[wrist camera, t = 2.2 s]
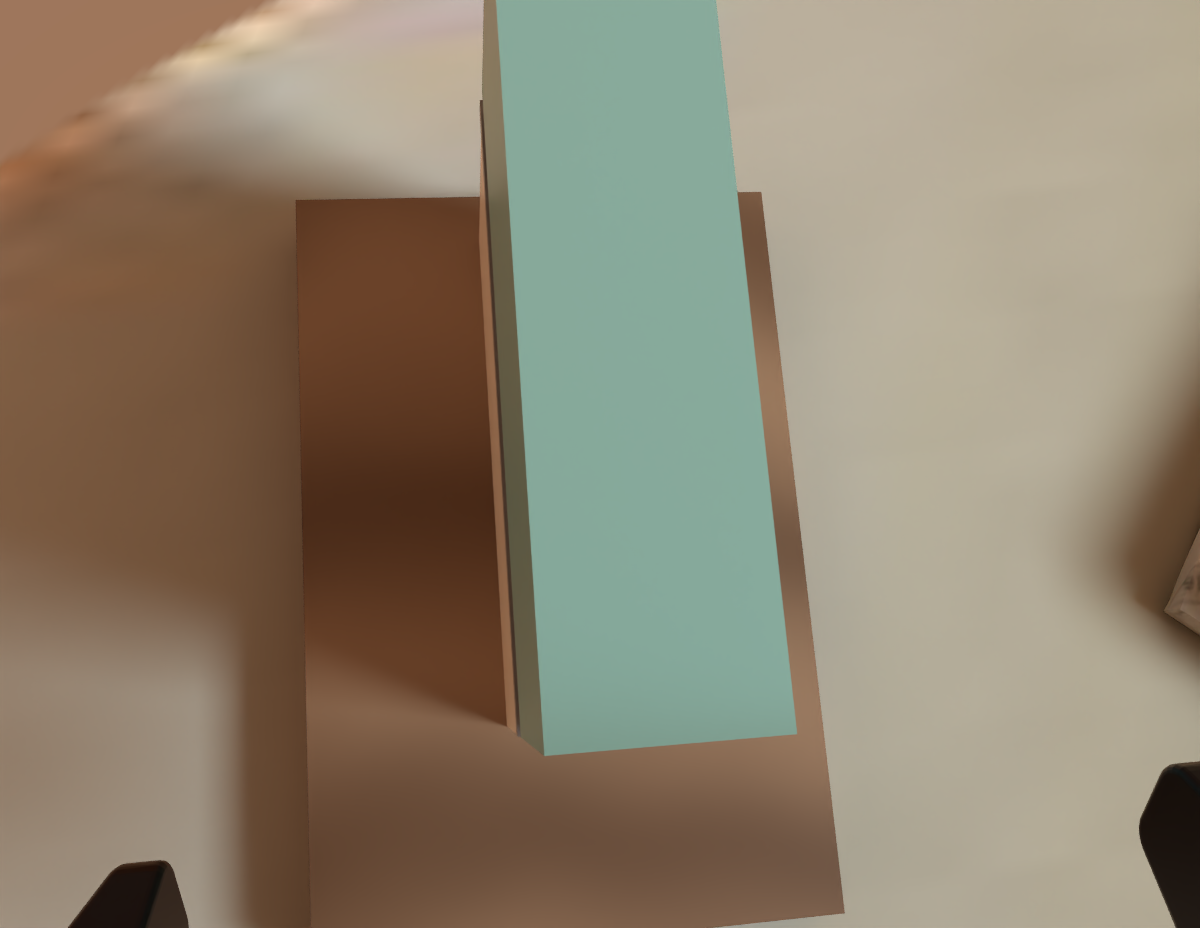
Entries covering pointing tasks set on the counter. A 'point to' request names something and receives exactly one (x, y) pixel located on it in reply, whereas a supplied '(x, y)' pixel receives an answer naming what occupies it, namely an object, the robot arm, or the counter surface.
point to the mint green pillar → (628, 382)
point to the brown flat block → (499, 636)
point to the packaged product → (1187, 591)
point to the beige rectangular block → (497, 450)
